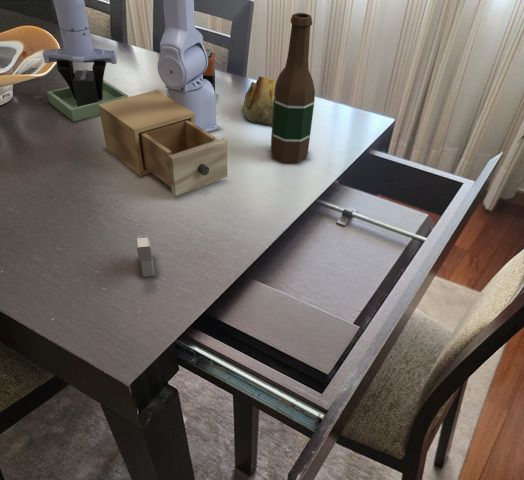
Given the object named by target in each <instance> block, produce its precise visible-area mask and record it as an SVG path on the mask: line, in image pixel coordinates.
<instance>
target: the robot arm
mask: <svg viewBox="0 0 524 480" xmlns="http://www.w3.org/2000/svg"><path fill="white" fill-rule="evenodd" d="M53 5H54V9H55V14H56V19H57V22H58V26H59V27H58V28H59V31H60V36H61V40H62V45H63V48H52V49H43V51H42V52H41V53H42V57H43V62H44V64H51V63H56V64H57V65H56V70H57V71H58V73H59V74H60V75H61V76H62V77H61V78H63V79H64V81H65V82H66V84H67V87H70V89H71V91H72V94H73V96H74V99H75V100H76V97H75V92H74V88H73V84H72V79H73V76H74V73H75V71H74V63H93V64H92V67H91V69H92V71H93V73H94V76H95V81H96V85H97V93H98V98H99V100H102V98H103V91H102V88H103V80H104V76H105V71H106V67H107V64H111V65H117V62H118V58H117V51H116V50H107V49H102V48H94V45H93V40H92V34H91V30H90V23H89V19H88V13H87V7H86V1H85V0H53ZM162 6H163V16H164V17H163V18H164V32H163V34H162V37H161V40H160V43H159V50H160V51H159V57H158V61H157V72H158V75H159V76H158V77H160V79H161V82H163V84H164V86H165V88H166V94H167V95H166V96H167V97H169V98H171V99H172V100H174V101H176V102H177V103H179V104H181V105H182V106H184V107H186V108H187V109H189V110H191V111H192V112H194V119H195V125H197V126H198V127H200V128H202V129H203V130H205V131H206V132H208V133H210V132H213V131H217V130H219V128H220V127H219V126H218V125H217V97H216V96H217V95H216V90H215V91H214V88H213V86H212V84H211V83H210V82H209V81H208V80H206V79H203V73H204V72H205V71H206V69H207V66H208V56H207V53H206V51H205V49H206V48H205V45H204V36H203V34H202V33H201V32H200V31H199V30H198V29H197V28H196V20H195V0H162Z"/></svg>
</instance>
